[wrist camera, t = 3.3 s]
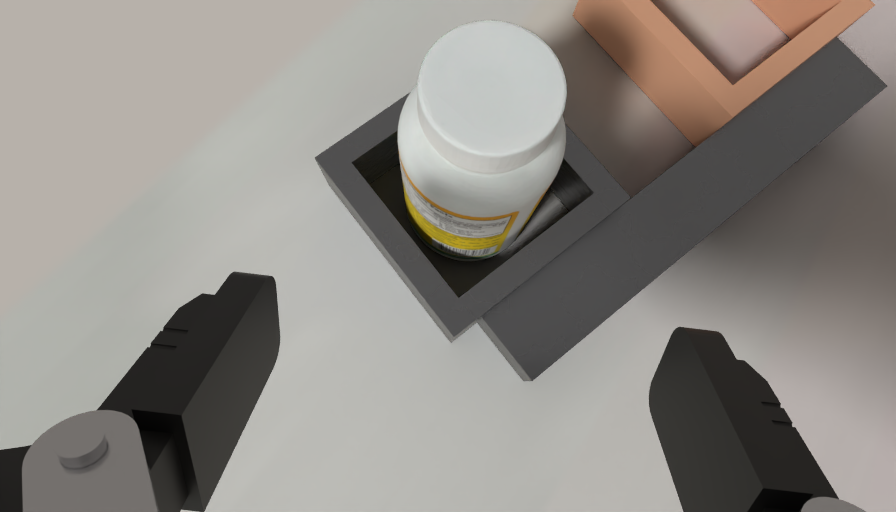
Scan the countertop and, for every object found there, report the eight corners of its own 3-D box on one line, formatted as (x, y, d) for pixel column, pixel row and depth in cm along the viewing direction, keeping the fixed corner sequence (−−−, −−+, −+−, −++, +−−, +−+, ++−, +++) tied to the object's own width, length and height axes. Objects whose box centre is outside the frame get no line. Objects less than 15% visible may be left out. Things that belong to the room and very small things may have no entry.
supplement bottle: (451, 287, 23) (465, 222, 13) (381, 187, 23) (348, 60, 14) (553, 218, 23) (634, 111, 14) (482, 124, 24) (513, -36, 15)
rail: (681, -60, 27) (711, -114, 24) (851, 108, 25) (907, 72, 22) (329, 185, 23) (314, 157, 20) (497, 402, 22) (507, 405, 19)
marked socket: (700, -74, 27) (732, -129, 24) (824, 47, 26) (875, 4, 23) (572, 15, 26) (590, -32, 23) (696, 148, 24) (732, 117, 21)
